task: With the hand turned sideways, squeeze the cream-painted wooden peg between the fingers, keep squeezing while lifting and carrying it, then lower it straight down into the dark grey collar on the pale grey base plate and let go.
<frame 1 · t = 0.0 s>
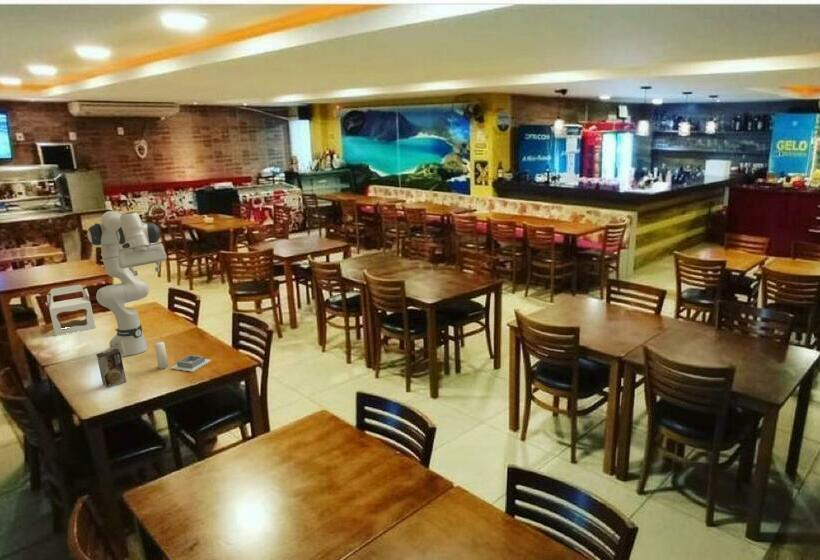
hand: (147, 273, 253), 54 cm above the table, tool tilted 30°, fingers open, 8 cm apart
coffee box: (114, 383, 269), on the table
socket: (191, 365, 286), on the table
peg: (163, 367, 286), on the table
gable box: (75, 329, 349), on the table
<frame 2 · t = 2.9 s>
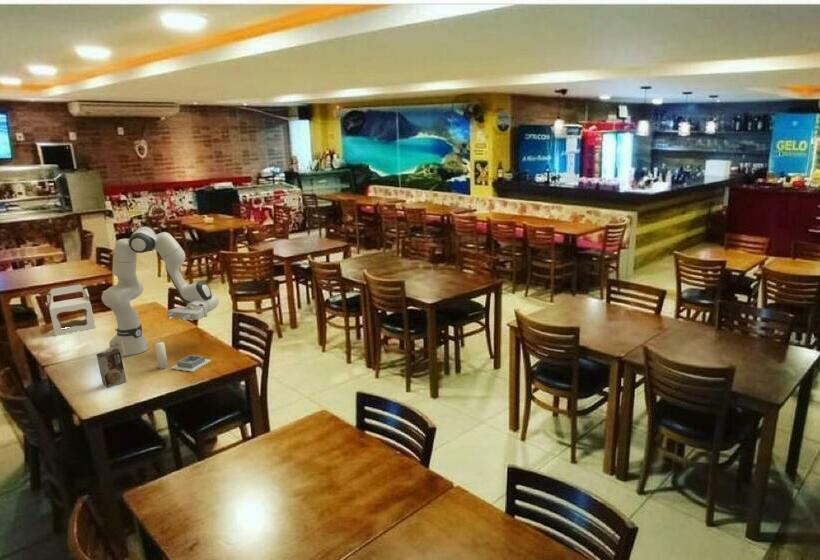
hand: (175, 318, 291), 22 cm above the table, tool horizontal, fingers open, 8 cm apart
nothing on the table moved.
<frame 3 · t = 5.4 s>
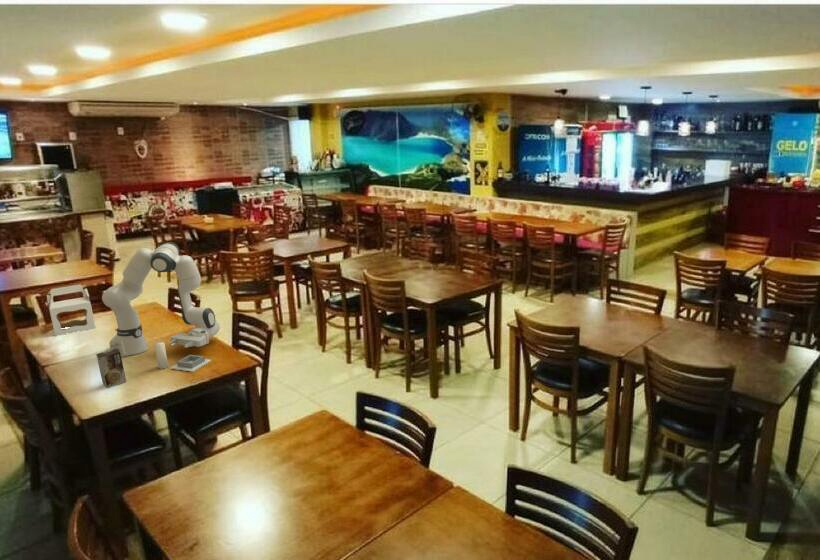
hand: (177, 345, 294), 7 cm above the table, tool horizontal, fingers open, 8 cm apart
nothing on the table moved.
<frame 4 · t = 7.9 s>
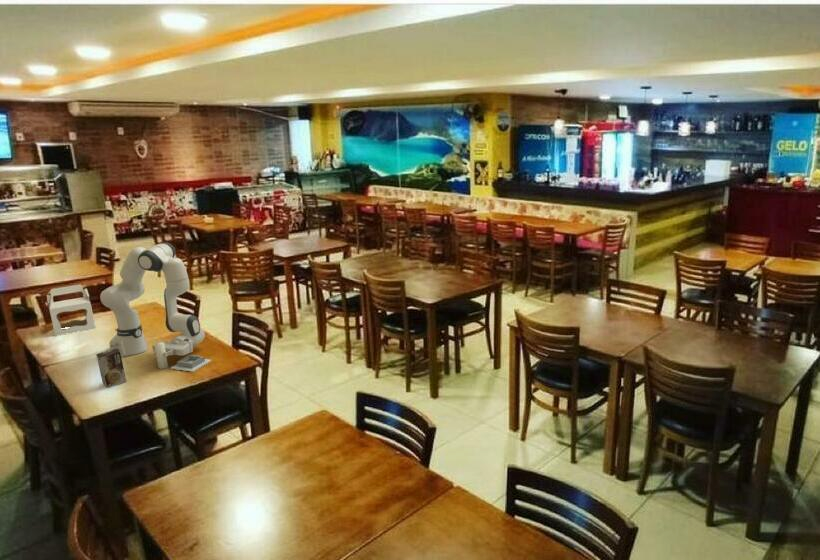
hand: (159, 354, 283), 8 cm above the table, tool horizontal, fingers closed on peg, 5 cm apart
peg: (163, 367, 286), on the table, touching gripper
everything else where it was.
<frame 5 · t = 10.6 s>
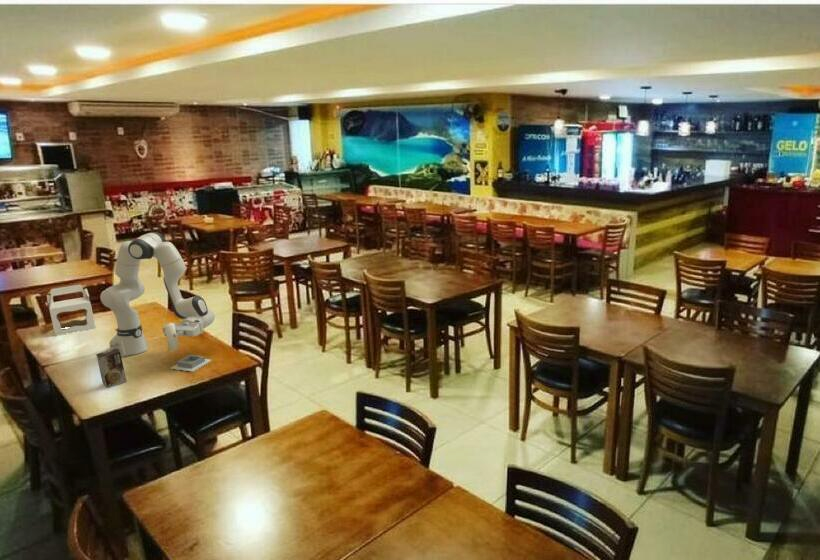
hand: (170, 335, 280), 17 cm above the table, tool horizontal, fingers closed on peg, 5 cm apart
peg: (173, 348, 283), point 10 cm above the table, touching gripper
everything else where it was.
when the fingers open (10 cm above the table, at t = 13.3 s): peg drops 1 cm, resting on socket.
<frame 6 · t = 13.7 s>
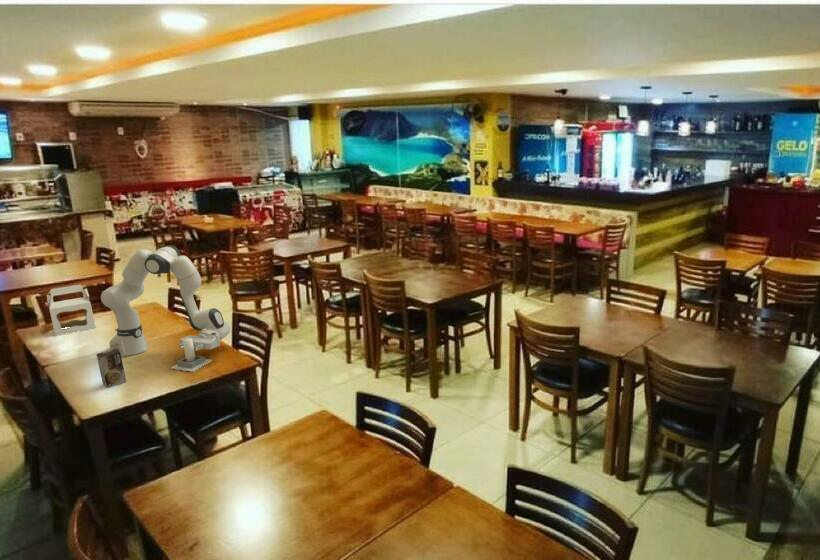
hand: (187, 348, 283), 10 cm above the table, tool horizontal, fingers open, 8 cm apart
peg: (191, 363, 286), point 1 cm above the table, touching socket
everything else where it was.
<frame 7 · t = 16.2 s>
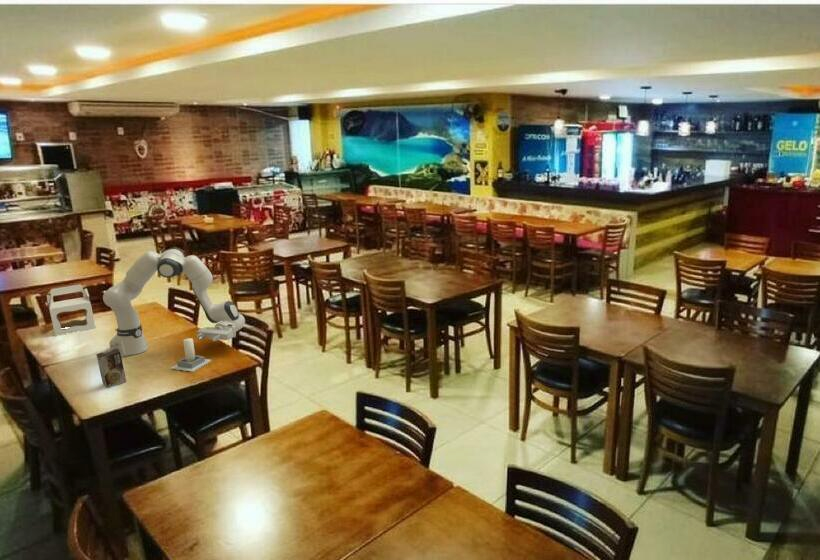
hand: (205, 338, 294), 10 cm above the table, tool horizontal, fingers open, 8 cm apart
nothing on the table moved.
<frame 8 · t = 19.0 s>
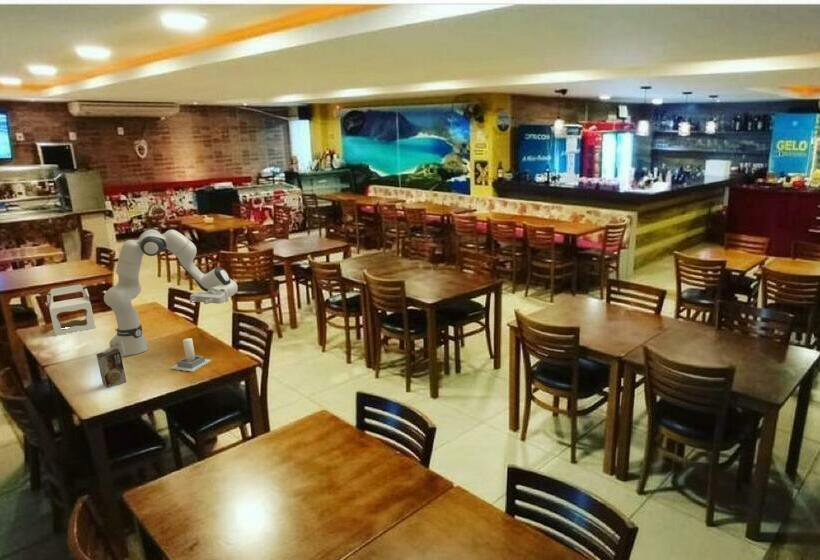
hand: (197, 302, 298), 28 cm above the table, tool horizontal, fingers open, 8 cm apart
nothing on the table moved.
at the end: peg 0.1 cm off-centre on the socket, point 1.0 cm above the socket's base; peg tilted 1°; the gripper is holding nothing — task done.
